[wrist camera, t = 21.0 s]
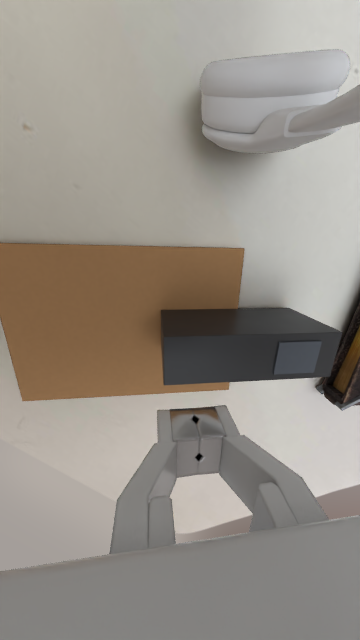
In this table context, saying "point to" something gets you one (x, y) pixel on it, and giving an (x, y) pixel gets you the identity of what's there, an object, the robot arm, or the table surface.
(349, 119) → the headphones
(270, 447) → the table surface
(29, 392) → the mat
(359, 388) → the book
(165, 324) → the device
